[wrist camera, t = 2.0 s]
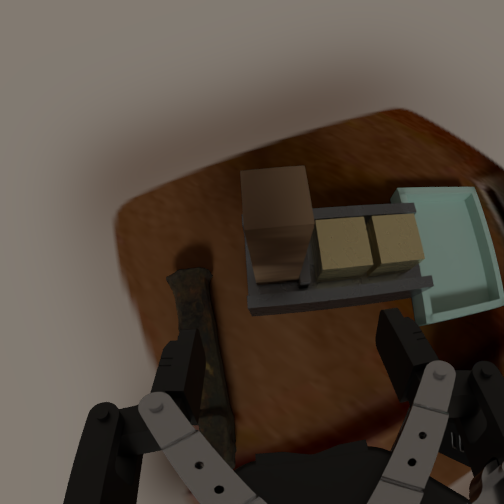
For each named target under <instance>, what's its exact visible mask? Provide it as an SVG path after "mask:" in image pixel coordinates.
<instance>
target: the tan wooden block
mask: <svg viewBox="0 0 504 504" xmlns="http://www.w3.org/2000/svg"><path fill="white" fill-rule="evenodd" d="M240 177H241V192H242V208H243V223H244V232H245V237H246V241H247V245H248V250H249V254H250V258H251V262H252V267H253V271H254V275H255V280H256V284H257V285H264V284H275V283H286V282H297V281H298V289H302V288H308V286H309V284H310V282H311V277H310V269H309V261H308V254H307V249H308V246H309V242H310V239H311V235H312V232H313V228H314V225H315V222H314V216H313V210H312V204H311V198H310V192H309V187H308V181H307V176H306V170H305V166H290V167H276V168H264V169H253V170H243V171H240Z"/></svg>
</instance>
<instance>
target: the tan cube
mask: <svg viewBox="0 0 504 504" xmlns="http://www.w3.org/2000/svg"><path fill="white" fill-rule="evenodd" d="M366 230H367V234H368V239H369V244H370V249H371V255H372V260H373V265H372V266H371V267H370V268H369V269H368V270H367V277H371V276H379V275H388V274H396V273H404V272H408V271H409V270H410V269H412V268H413V267H415V266H416V265H417V264H419V263H420V262H421V261H423V260H424V259H425V256H424V251H423V247H422V243H421V239H420V235H419V231H418V227H417V223H416V219H415V216H414V213H413V214H396V215H380V216H371V218H370V219H369V221H368V223H367V224H366Z"/></svg>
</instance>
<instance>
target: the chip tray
mask: <svg viewBox="0 0 504 504" xmlns="http://www.w3.org/2000/svg"><path fill="white" fill-rule="evenodd" d="M390 201H391V204H393V203H414V205H415V208H416V214H415V215H414V216H415V219H416V223H417V227H418V231H419V235H420V239H421V243H422V247H423V251H424V256H425V259H424V260H423V261H421V262H420V263H419V266H420V271H421V276H429V275H432V279H433V284H434V286H433V287H431V288H430V289H428V290H426V291H424V292H422V293H420V294H418V295H416V296H414V297H412V303H413V310H414V317H415V322H416V323H417V324H418V326H423V325H428V324H433V323H437V322H442V321H446V320H451V319H455V318H459V317H464V316H468V315H472V314H476V313H480V312H484V311H487V310H491V309H495V308H498V307H501V306H504V292H503V286H502V281H501V276H500V272H499V267H498V263H497V259H496V255H495V251H494V247H493V243H492V240H491V236H490V233H489V229H488V226H487V223H486V219H485V216H484V213H483V210H482V207H481V204H480V201H479V198H478V196H477V193H476V190H475V187H412V188H397V189H396V191H395V192H394V194H393V195H392V197H391V198H390Z"/></svg>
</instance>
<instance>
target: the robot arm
mask: <svg viewBox="0 0 504 504" xmlns="http://www.w3.org/2000/svg"><path fill="white" fill-rule="evenodd" d="M376 347H377V350H378V352H379V354H380V357H381V359H382V361H383V363H384V366H385V368H386V370H387V373H388V375H389V377H390V380H391V382H392V385H393V387H394V389H395V392H396V394H397V397H398V399H399V402H400V403H401V402H405V401H409V403H410V407H409V409H408V412H407V414H406V417H405V419H404V421H403V424H402V426H401V429H400V431H399V433H398V435H397V438H396V440H395V442H394V444H393V446H392V448H391V450H390V451H388V450H385V449H382V448H378V447H371V446H367V443H366V440H361V441H356V442H351V443H346V444H340V445H337V446H335V447H332V448H330V449H327V450H325V451H322V452H319V453H317V454H313V455H307V454H297V453H288V452H277V453H264V454H256V461H253V462H250V463H247V464H244V465H242V466H241V467H239V468H237V469H235V470H234V471H233V470H232V469H231V468H230V466H229V465H228V464H227V463H226V462H225V461H224V460H223V459H222V457H221V456H220V455H219V454H218V453H217V452H216V451H215V449H214V448H213V447H212V446H211V445H210V443H209V442H208V441H207V440H206V439H205V437H204V436H203V435H202V434H201V433H200V432H199V431H198V430H195V429H194V427H193V426H192V425H198V421H199V414H200V406H201V398H202V391H203V384H204V376H205V369H206V356H205V351H204V348H203V344H202V340H201V336H200V332H199V330H198V328H193V329H181V330H180V333H179V336H178V340H177V341H170V342H169V343H168V344H167V345H166V346H165V348H164V349H163V352H162V355H161V359H160V362H159V367H158V369H157V372H156V376H155V379H154V383H153V386H152V390H151V393H150V394H148V395H146V396H145V397H143V398H142V400H141V401H140V403H139V405H136V406H132V407H128V408H123V409H118V408H117V407H116V405H114V404H112V403H109V402H104V403H100V404H97V405H95V406H94V407H93V408H92V409H91V410H90V412H89V414H88V417H87V420H86V423H85V426H84V430H83V433H82V436H81V439H80V442H79V446H78V449H77V453H76V456H75V460H74V463H73V467H72V471H71V474H70V478H69V482H68V486H67V490H66V494H65V499H64V503H63V504H136V502H137V494H138V487H139V479H140V472H141V465H142V458H143V454H144V453H150V452H155V451H160V450H162V451H163V452H164V454H165V456H166V457H167V458H168V460H169V462H170V463H171V464H172V466H173V467H174V469H175V470H176V472H177V473H178V475H179V476H180V477H181V479H182V480H183V481H184V483H185V484H186V486H187V487H188V488H189V490H190V491H191V492H192V494H193V495H194V496H195V497H196V499H197V500H198V501H199V503H200V504H504V378H503V376H502V374H501V373H500V371H499V369H498V368H497V367H496V366H495V365H494V364H493V363H491V362H488V361H480V362H477V363H476V364H475V365H474V366H473V368H472V370H454V368H453V367H452V366H451V365H450V364H449V363H447V362H444V361H440V360H439V359H438V357H437V355H436V354H435V352H434V350H433V349H432V347H431V345H430V344H429V342H428V340H427V339H426V338H425V336H424V334H423V332H422V331H421V329H420V328H419V326H418V324H417V323H416V322H414V321H413V320H412V319H410V318H409V317H405V318H404V317H403V316H402V314H401V312H400V311H399V309H398V308H392V309H386V310H381V311H380V314H379V321H378V326H377V332H376ZM448 418H453V420H454V423H455V425H456V428H457V430H458V433H459V436H460V438H461V441H462V444H463V446H464V449H465V452H466V455H467V458H468V461H469V463H470V466H471V469H472V472H473V476H474V478H473V479H472V481H471V483H470V487H469V490H470V491H469V492H470V493H469V498H470V499H469V500H468V499H467V498H465V497H464V496H462V495H460V494H459V493H456V492H455V491H453V490H452V489H450V488H448V487H447V486H445V485H443V484H442V483H440V482H438V481H437V480H435V479H433V478H432V477H430V476H429V475H430V473H431V470H432V467H433V465H434V462H435V459H436V456H437V453H438V450H439V447H440V444H441V441H442V438H443V435H444V432H445V428H446V425H447V421H448Z"/></svg>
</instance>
